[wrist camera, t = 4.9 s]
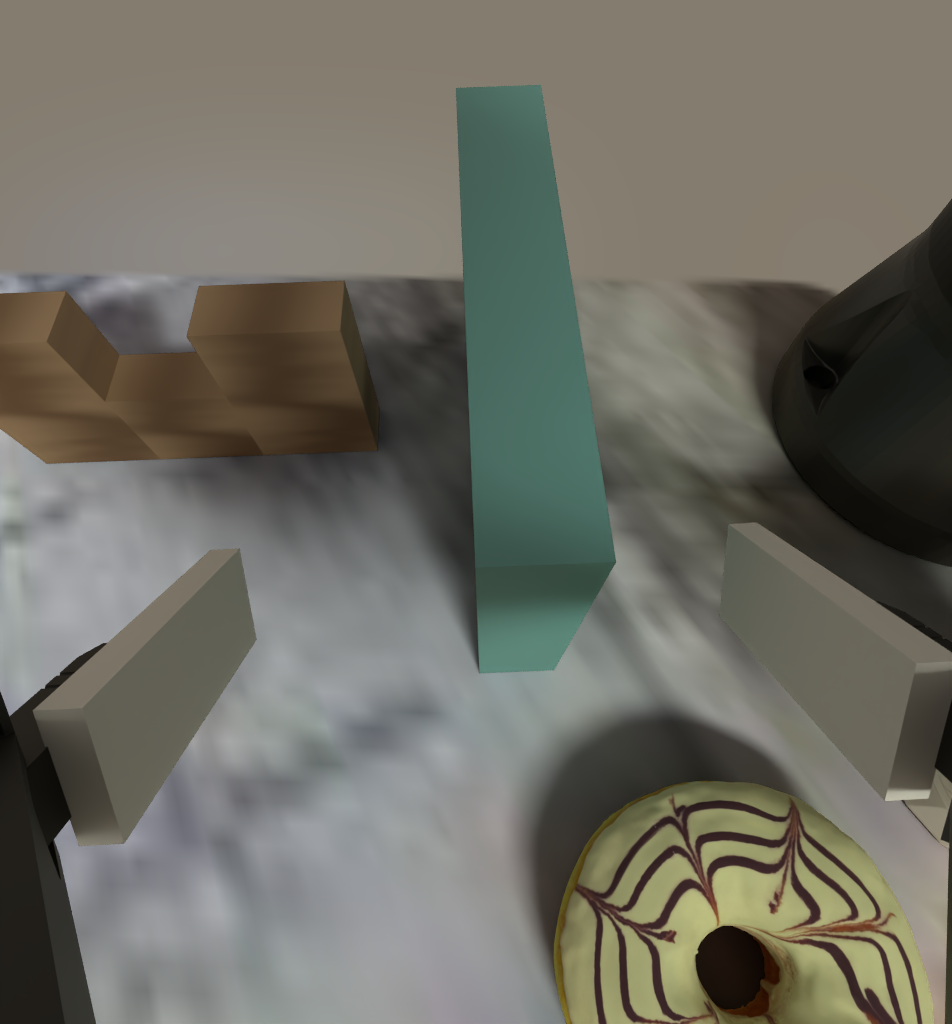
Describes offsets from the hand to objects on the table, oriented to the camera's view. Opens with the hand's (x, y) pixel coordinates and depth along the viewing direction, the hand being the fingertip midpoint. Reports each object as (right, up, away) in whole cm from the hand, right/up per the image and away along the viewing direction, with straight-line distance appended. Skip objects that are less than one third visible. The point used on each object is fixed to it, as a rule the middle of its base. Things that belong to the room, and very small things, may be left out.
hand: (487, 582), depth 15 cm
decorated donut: (+8, -13, +4) cm, 15 cm away
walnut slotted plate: (-13, +6, +13) cm, 19 cm away
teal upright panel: (+1, +4, +11) cm, 12 cm away
